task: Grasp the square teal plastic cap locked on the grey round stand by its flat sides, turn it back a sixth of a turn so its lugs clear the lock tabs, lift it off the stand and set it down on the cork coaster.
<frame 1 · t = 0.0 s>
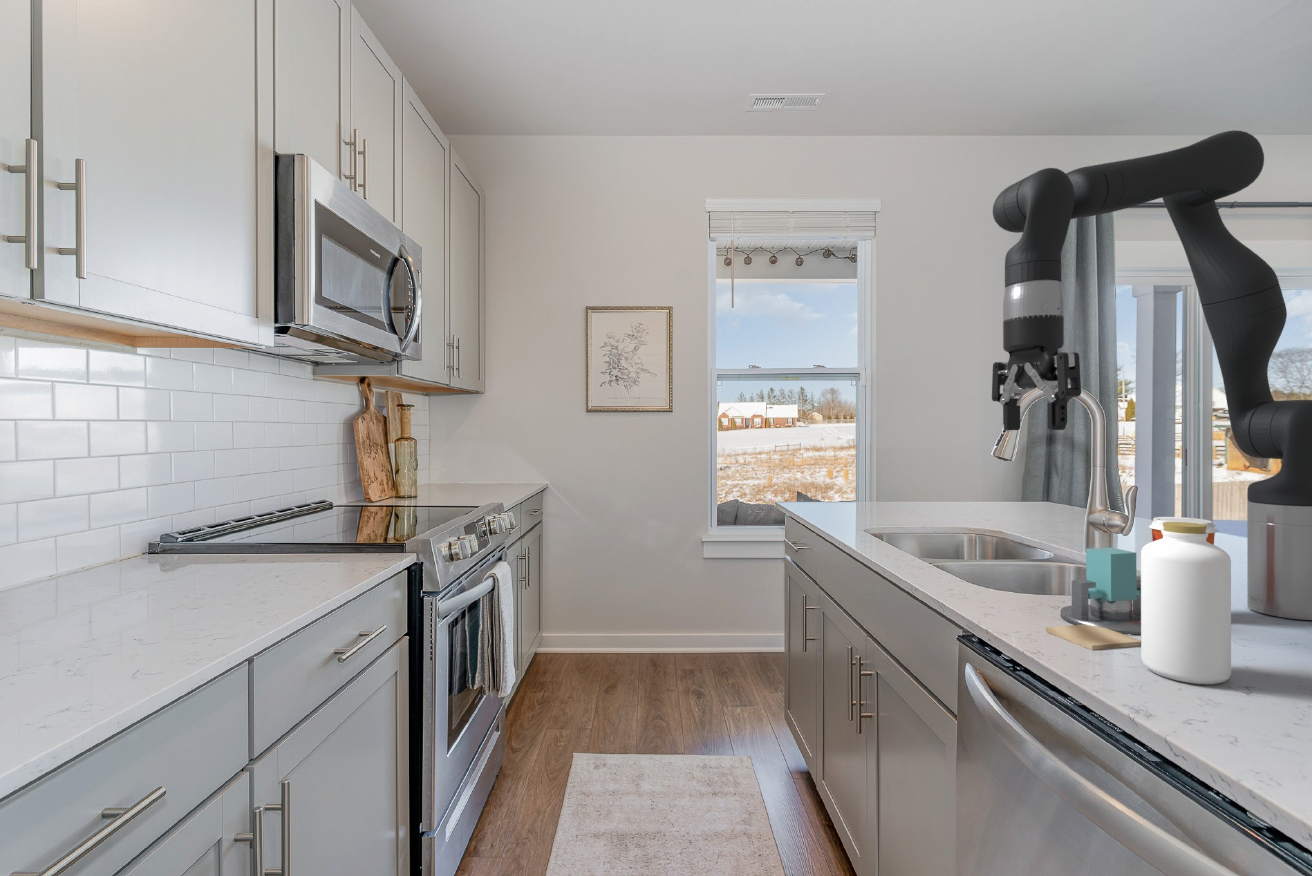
hand: (1033, 430, 93), 29 cm above the worktop, tool pointing down, fingers open, 8 cm apart
coaster: (1092, 638, 91), on the worktop
cap: (1110, 596, 98), point 4 cm above the worktop, touching grey round stand
coffee cup: (1183, 617, 100), on the worktop
grey round stand: (1111, 621, 98), on the worktop
potion bottle: (1184, 675, 77), on the worktop
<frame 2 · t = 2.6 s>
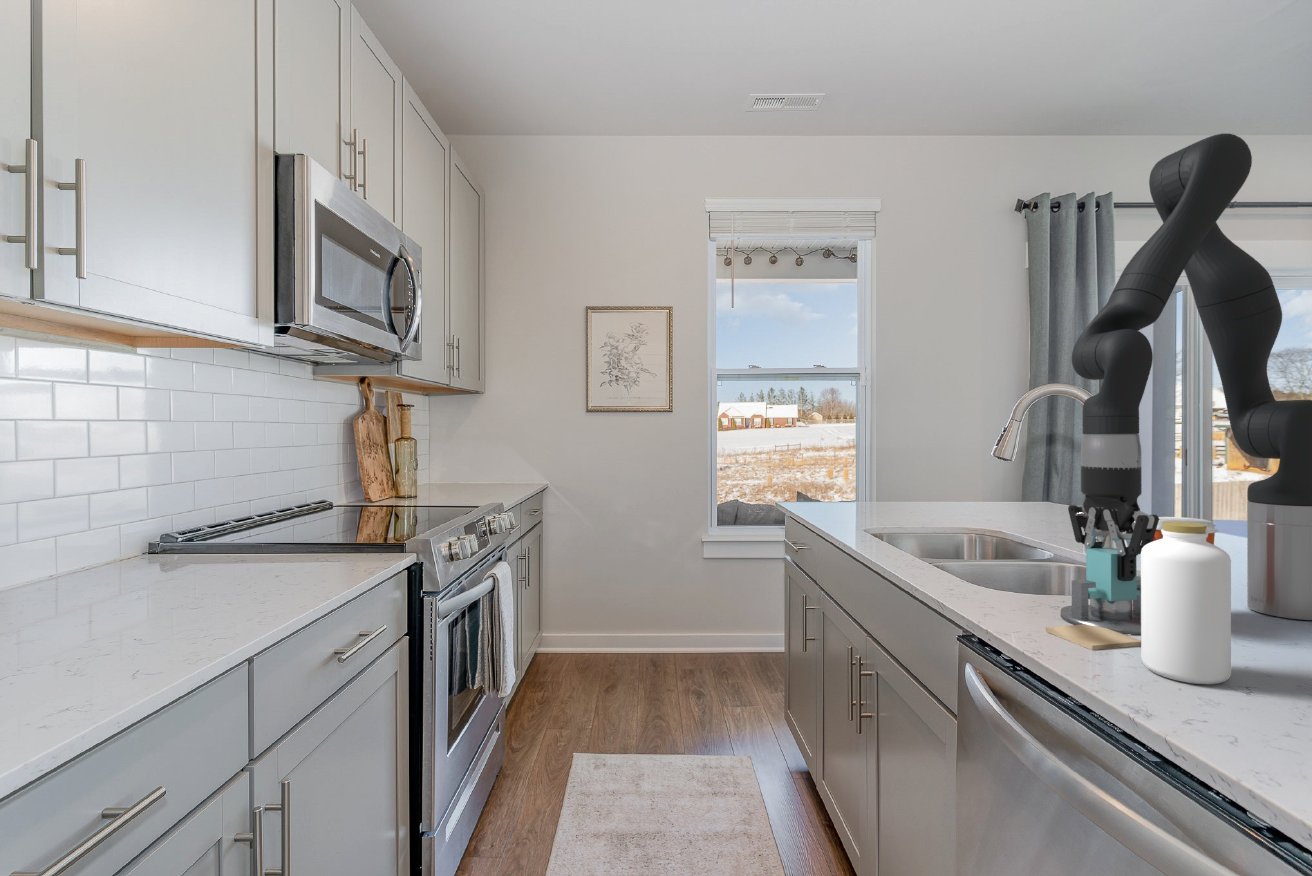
hand: (1110, 576, 98), 7 cm above the worktop, tool pointing down, fingers closed on cap, 4 cm apart
cap: (1111, 596, 98), point 4 cm above the worktop, touching gripper, grey round stand
everything else where it was.
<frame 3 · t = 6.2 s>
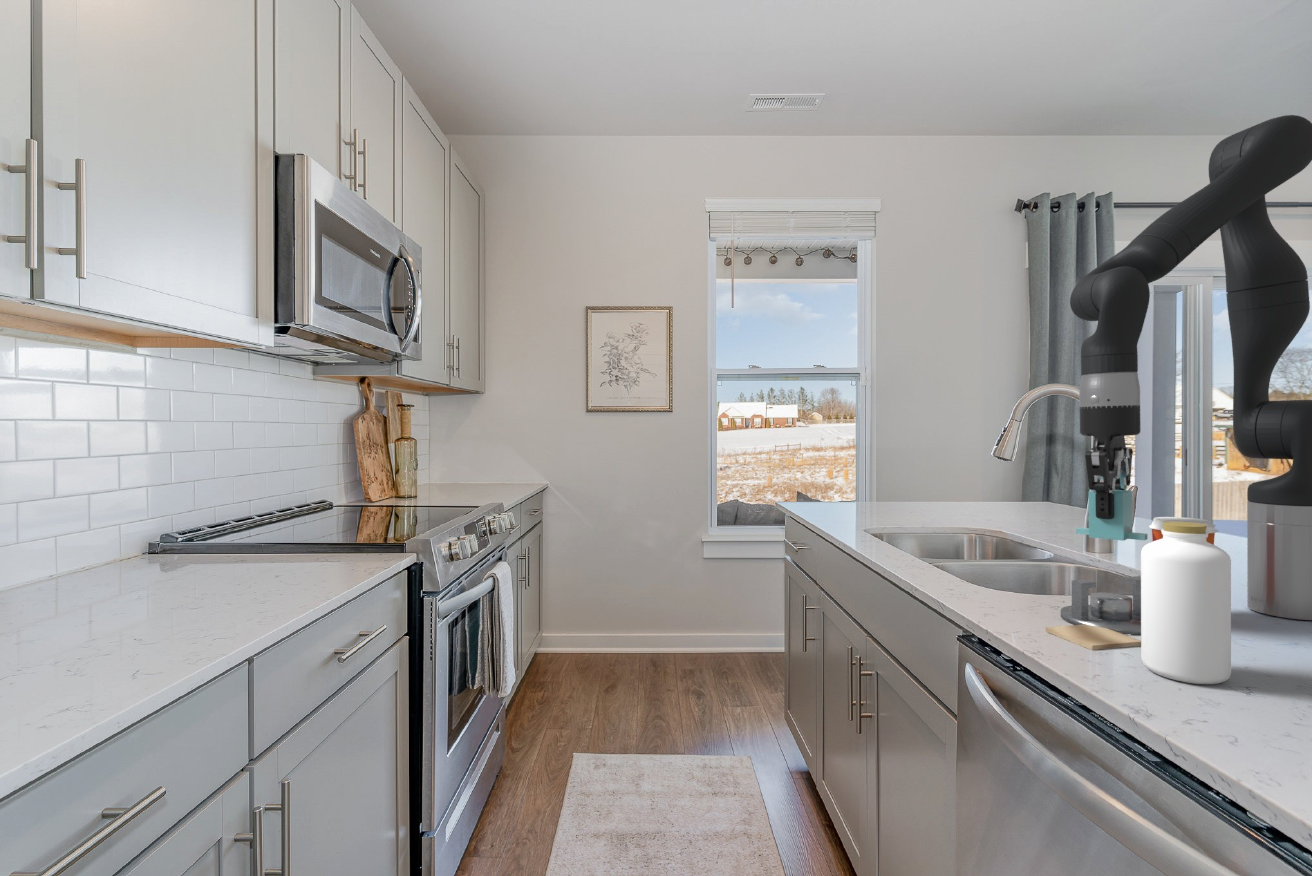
hand: (1110, 516, 98), 16 cm above the worktop, tool pointing down, fingers closed on cap, 4 cm apart
cap: (1110, 537, 98), point 13 cm above the worktop, touching gripper
everything else where it was.
when the fingers open (5 cm above the worktop, at t = 9.9 s): cap drops 1 cm, resting on coaster.
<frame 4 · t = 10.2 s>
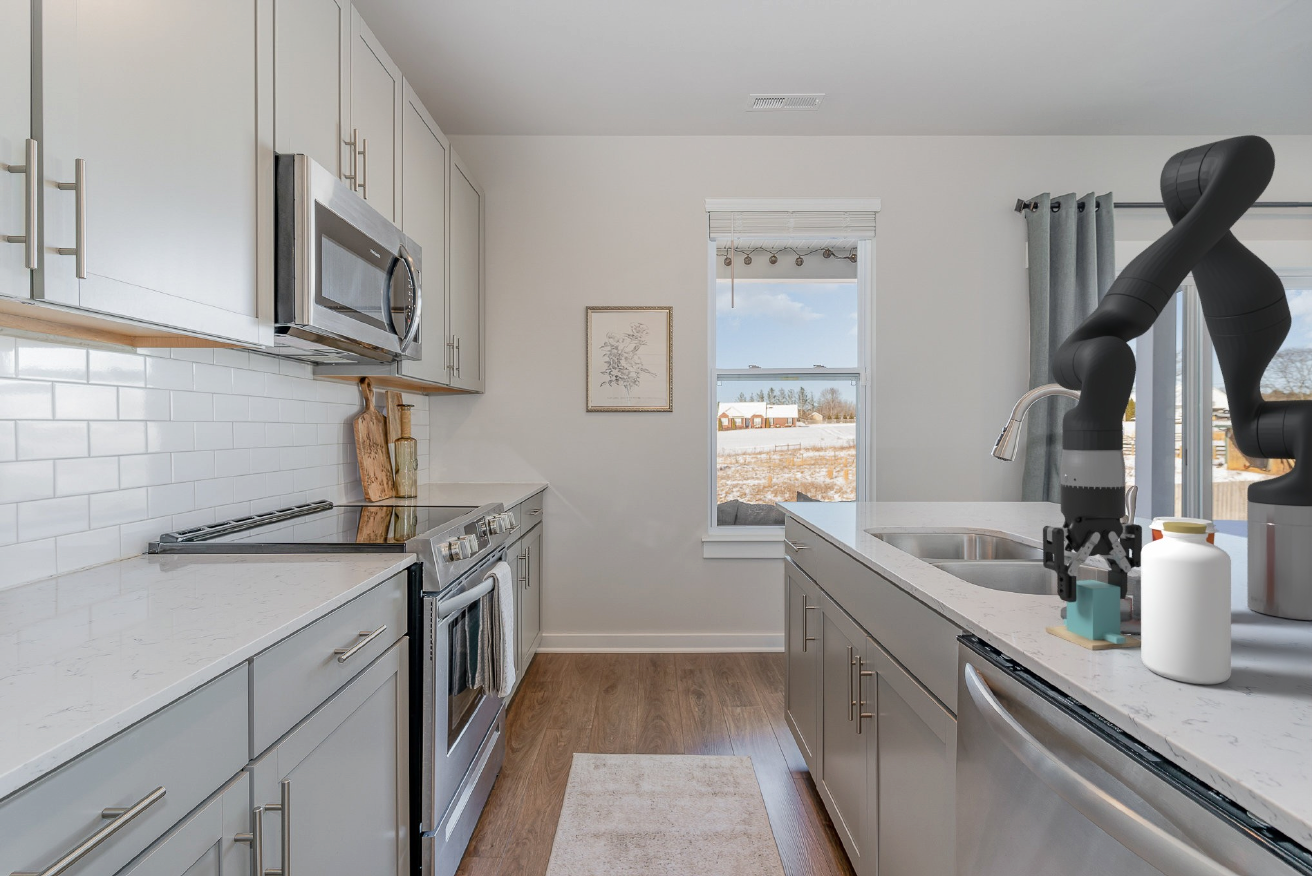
hand: (1092, 599, 90), 5 cm above the worktop, tool pointing down, fingers open, 7 cm apart
cap: (1093, 634, 91), point 1 cm above the worktop, touching coaster
everything else where it was.
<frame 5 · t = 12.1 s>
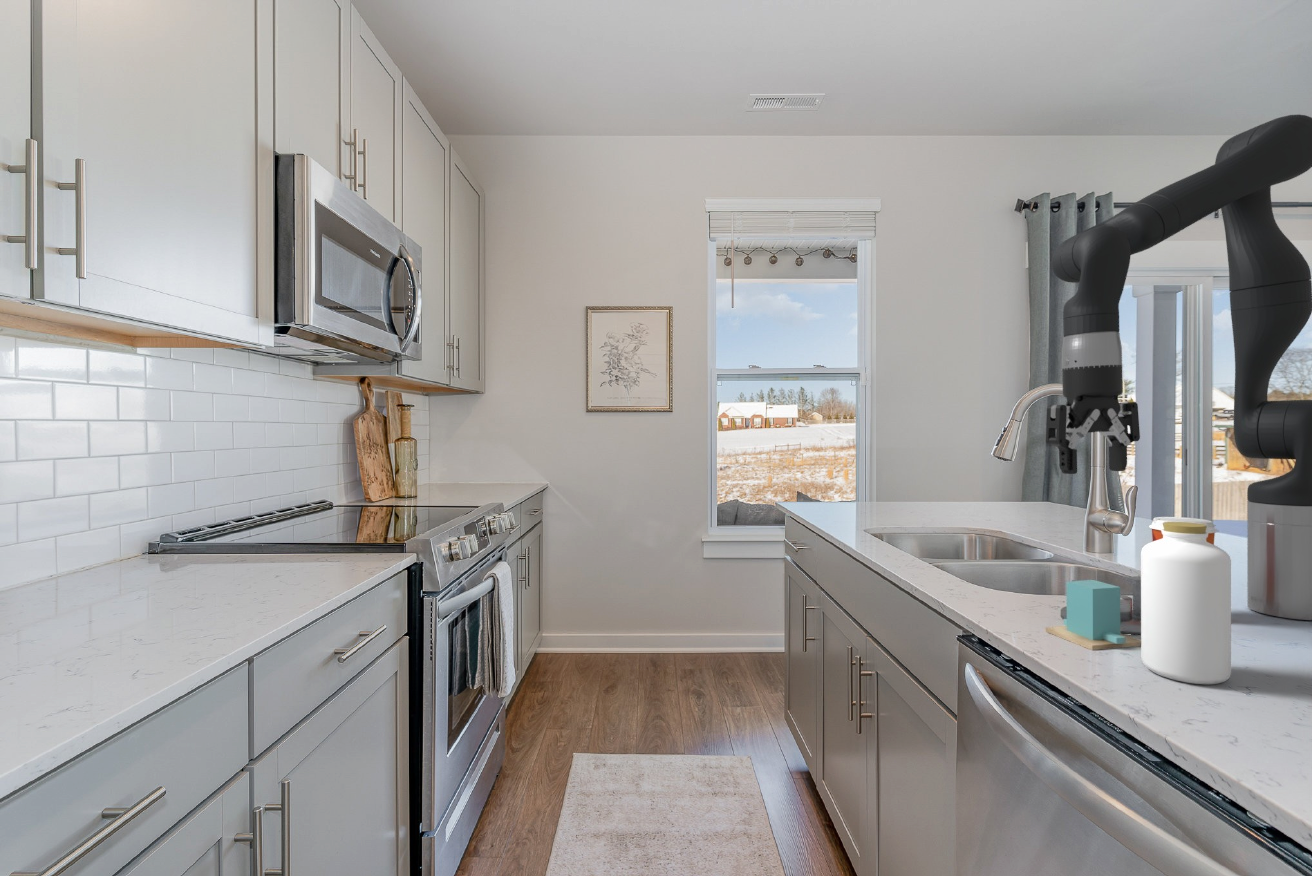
hand: (1093, 472, 98), 23 cm above the worktop, tool pointing down, fingers open, 8 cm apart
nothing on the worktop moved.
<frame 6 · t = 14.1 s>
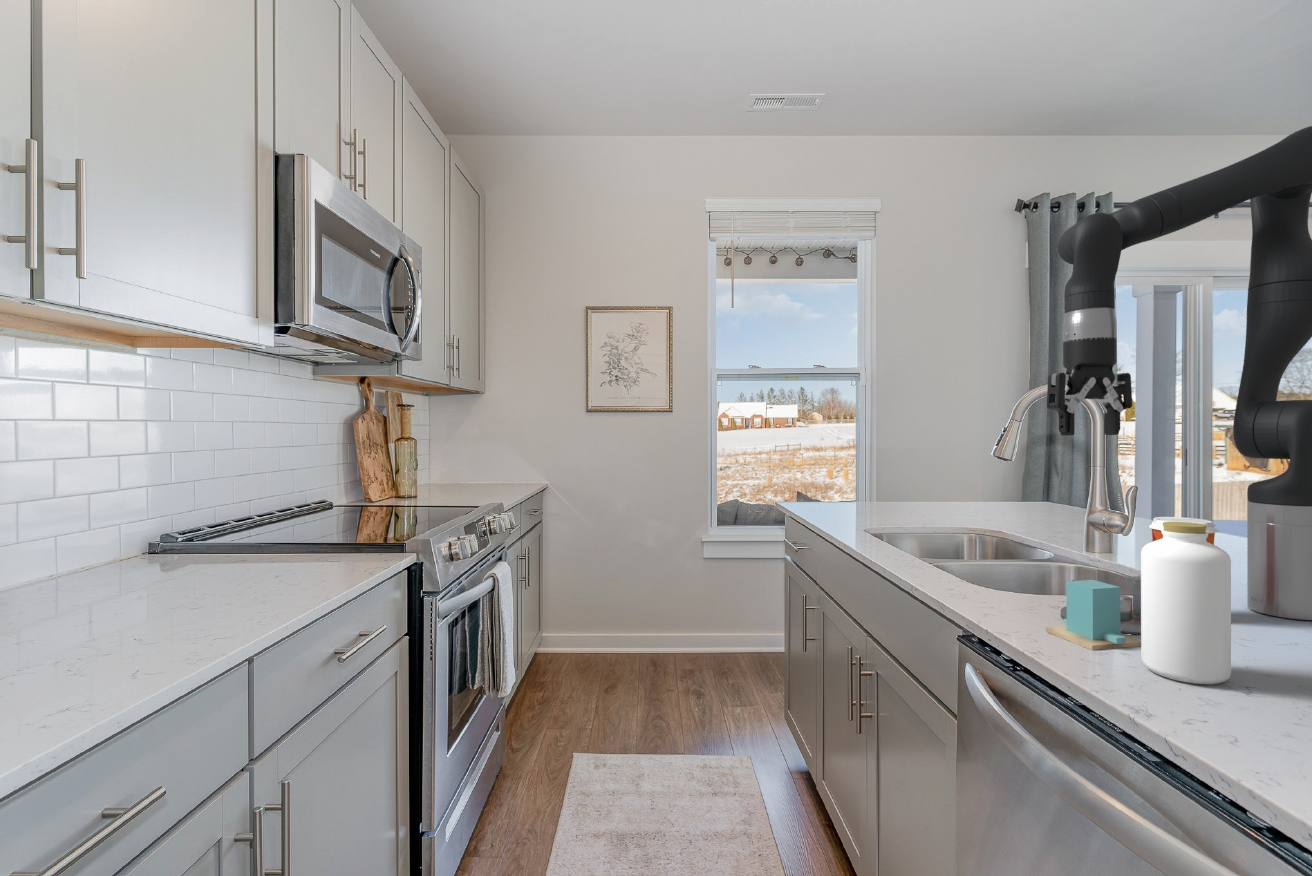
hand: (1089, 435, 108), 28 cm above the worktop, tool pointing down, fingers open, 8 cm apart
nothing on the worktop moved.
at the end: cap inside the target area on the coaster (0.0 cm from its centre), point 0.6 cm above the coaster's base; cap tilted 0°; the gripper is holding nothing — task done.
